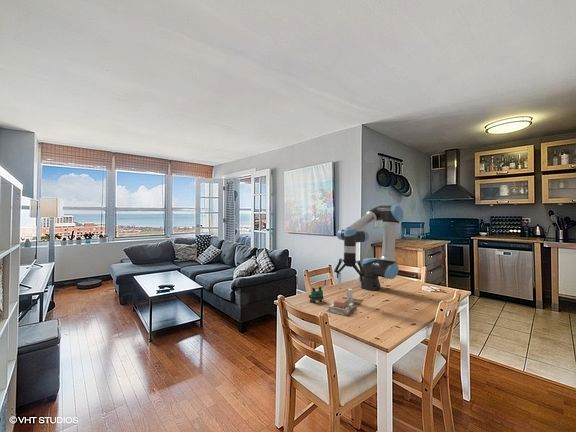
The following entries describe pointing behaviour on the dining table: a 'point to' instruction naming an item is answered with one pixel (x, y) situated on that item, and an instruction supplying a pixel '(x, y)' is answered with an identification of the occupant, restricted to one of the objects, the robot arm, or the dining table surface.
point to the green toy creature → (316, 295)
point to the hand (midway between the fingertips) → (349, 284)
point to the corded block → (344, 300)
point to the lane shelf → (356, 303)
